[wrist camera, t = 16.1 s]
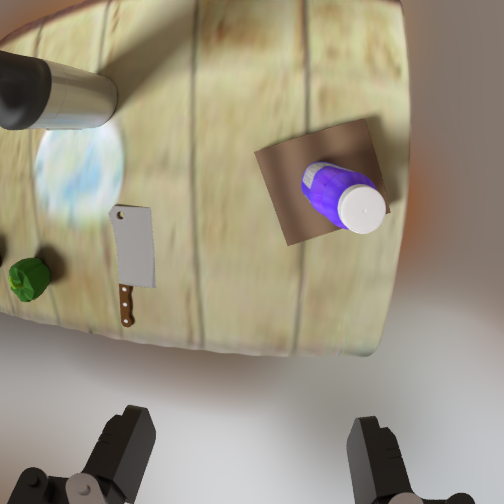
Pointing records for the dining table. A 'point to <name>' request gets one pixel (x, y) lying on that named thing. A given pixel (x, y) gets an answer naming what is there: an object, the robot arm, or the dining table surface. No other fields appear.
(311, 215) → the walnut stand
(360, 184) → the bottle
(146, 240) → the kitchen cleaver
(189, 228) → the dining table surface
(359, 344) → the dining table surface
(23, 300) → the bell pepper
